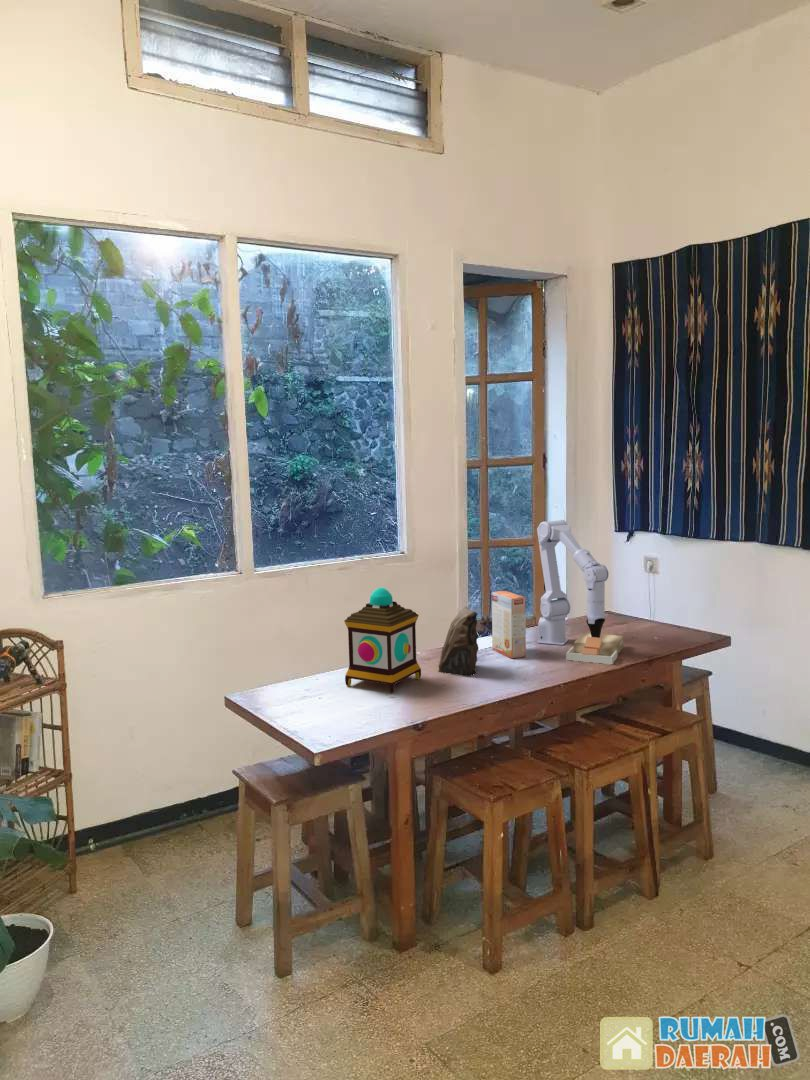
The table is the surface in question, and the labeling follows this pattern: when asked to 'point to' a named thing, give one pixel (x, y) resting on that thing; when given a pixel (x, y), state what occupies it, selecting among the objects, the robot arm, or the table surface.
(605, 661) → the tray
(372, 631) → the decorative lantern
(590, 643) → the tile rear
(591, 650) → the tile front
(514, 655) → the cracker box
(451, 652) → the brown rock
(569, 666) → the table surface
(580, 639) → the beige square tray
